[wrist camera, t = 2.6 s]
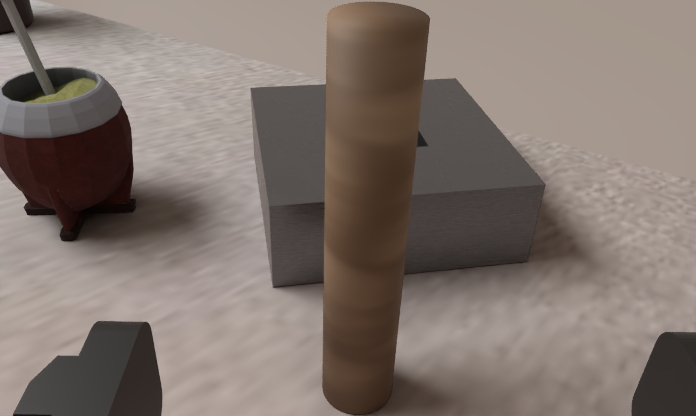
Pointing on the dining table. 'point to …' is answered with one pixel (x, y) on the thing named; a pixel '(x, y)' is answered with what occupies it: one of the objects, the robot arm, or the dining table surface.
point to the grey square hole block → (427, 193)
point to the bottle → (22, 3)
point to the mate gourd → (64, 140)
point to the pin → (368, 192)
